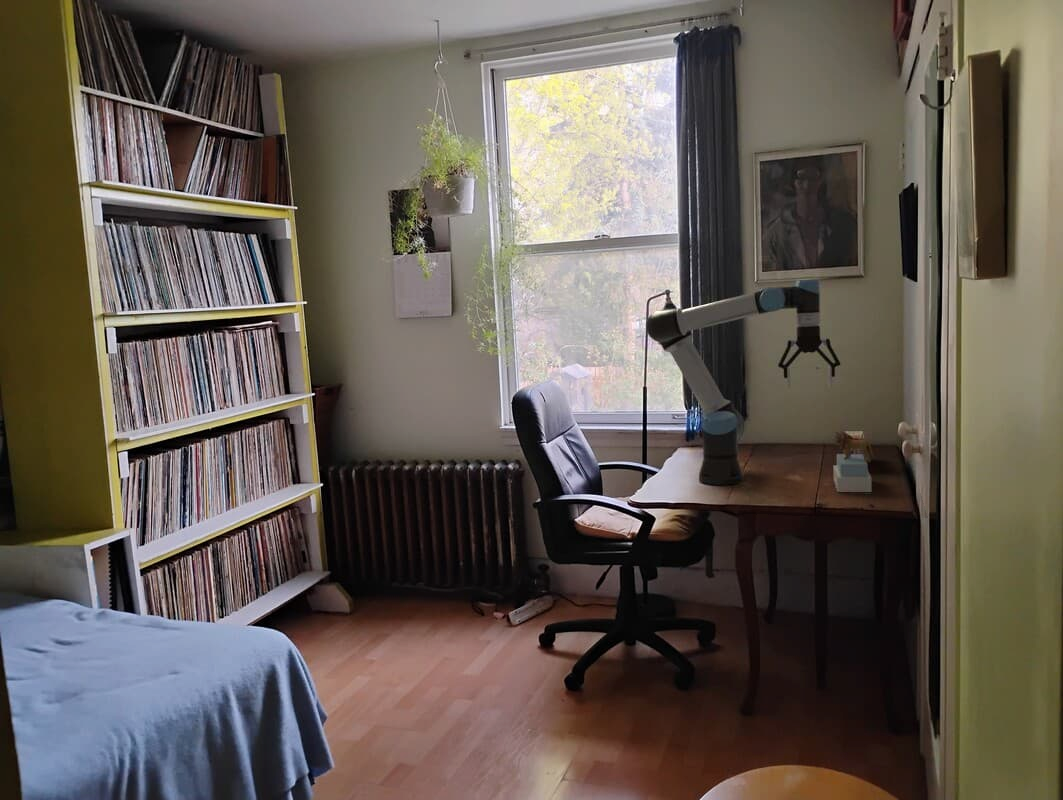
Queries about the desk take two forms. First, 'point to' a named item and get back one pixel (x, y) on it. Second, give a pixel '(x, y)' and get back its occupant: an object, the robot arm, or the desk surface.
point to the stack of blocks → (857, 436)
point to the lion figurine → (852, 445)
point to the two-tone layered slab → (852, 474)
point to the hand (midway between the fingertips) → (809, 387)
